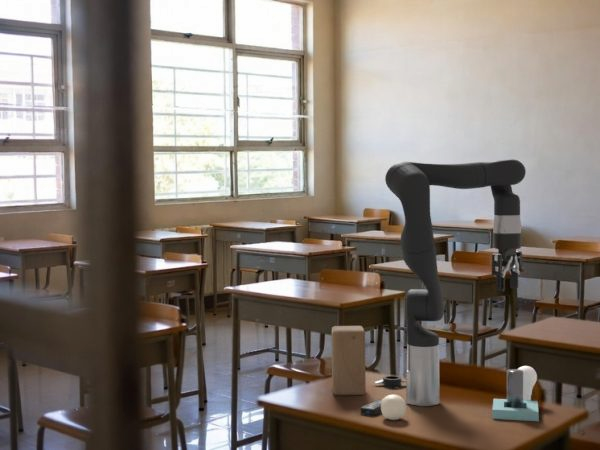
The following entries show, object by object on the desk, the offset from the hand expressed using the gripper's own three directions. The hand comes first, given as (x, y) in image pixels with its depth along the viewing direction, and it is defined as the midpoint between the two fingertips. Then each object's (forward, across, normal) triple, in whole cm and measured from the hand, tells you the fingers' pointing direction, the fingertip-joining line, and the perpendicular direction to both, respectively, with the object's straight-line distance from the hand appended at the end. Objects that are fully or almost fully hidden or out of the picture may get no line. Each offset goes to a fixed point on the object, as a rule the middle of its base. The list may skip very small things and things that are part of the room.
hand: (507, 289), depth 222 cm
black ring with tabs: (+35, +5, +42) cm, 55 cm away
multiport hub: (+35, -22, +29) cm, 50 cm away
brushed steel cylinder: (+34, -2, -3) cm, 34 cm away
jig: (+34, -2, -3) cm, 34 cm away
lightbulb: (+34, +10, -1) cm, 36 cm away
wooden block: (+34, -9, +49) cm, 60 cm away
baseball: (+34, -26, +21) cm, 48 cm away
